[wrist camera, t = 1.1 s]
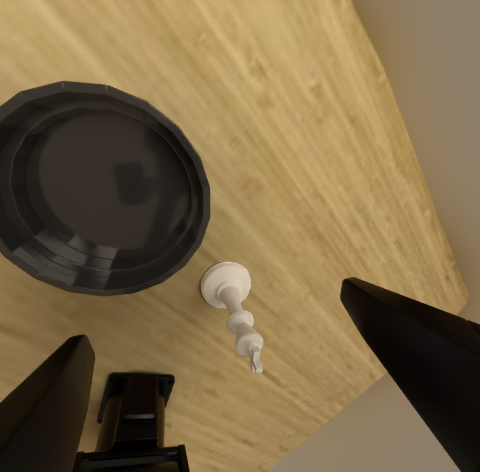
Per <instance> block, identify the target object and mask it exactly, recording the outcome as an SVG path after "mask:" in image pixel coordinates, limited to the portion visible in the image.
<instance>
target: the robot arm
mask: <svg viewBox="0 0 480 472" xmlns="http://www.w3.org/2000/svg"><path fill="white" fill-rule="evenodd" d="M340 299H341V302H342V304H343V305H344V307H345V309H346V310H347V312H348V314H349V316H350V317H351V319H352V321H353V322H354V324H355V326H356V327H357V329H358V331H359V332H360V334H361V335H362V337H363V338H364V340H365V341H366V343H367V344H368V346H369V347H370V348H371V350H372V351H373V352H374V354H375V355H376V356H377V358H378V359H379V361H380V362H381V363H382V365H383V366H384V367H385V369H386V370H387V371H388V373H389V374H390V376H391V377H392V378H393V380H394V381H395V382H396V384H397V385H398V386H399V388H400V389H401V390H402V392H403V393H404V395H405V396H406V397H407V399H408V400H409V401H410V403H411V404H412V406H413V407H414V408H415V410H416V411H417V412H418V414H419V415H420V417H421V418H422V419H423V420H424V422H425V423H426V425H427V426H428V427H429V429H430V430H431V431H432V433H433V434H434V436H435V437H436V438H437V440H438V441H439V442H440V444H441V445H442V446H443V448H444V449H445V450H446V452H447V453H448V455H449V456H450V457H451V459H452V460H453V461H454V463H455V464H456V466H457V467H458V468H459V470H460V471H461V472H480V324H477V323H474V322H472V321H469V320H467V321H466V320H465V319H464V318H461V317H458V316H456V315H453V314H450V313H448V312H445V311H443V310H440V309H437V308H435V307H432V306H429V305H427V304H424V303H421V302H419V301H416V300H413V299H411V298H408V297H405V296H403V295H400V294H398V293H395V292H392V291H390V290H387V289H384V288H382V287H379V286H376V285H374V284H371V283H368V282H366V281H363V280H361V279H358V278H355V277H351V278H347V279H344V280H343V282H342V287H341V294H340ZM94 363H95V353H94V350H93V348H92V346H91V344H90V341H89V339H88V337H87V336H86V335H78V336H73V337H70V338H69V339H68V340H67V341H65V342H64V343H63V344H62V345H61V346H60V347H59V348H58V349H57V350H56V351H55V352H54V353H53V354H52V355H51V356H50V357H48V358H47V359H46V360H45V361H44V362H43V363H42V364H41V365H40V366H39V367H38V368H37V369H36V370H35V371H34V372H32V373H31V374H30V375H29V376H28V377H27V378H26V379H25V380H24V381H23V382H22V383H21V384H20V385H19V386H18V387H16V388H15V389H14V390H13V391H12V392H11V393H10V394H9V395H8V396H7V397H6V398H5V399H4V400H3V401H2V402H1V403H0V472H190V471H189V466H188V460H187V455H186V449H185V445H184V444H183V445H178V446H173V447H164V420H165V407H166V405H167V402H168V399H169V396H170V393H171V391H172V388H173V385H174V382H175V378H174V376H172V375H145V374H116V373H115V374H111V375H109V377H108V380H107V384H106V388H105V392H104V396H103V400H102V403H101V407H100V411H99V415H98V419H97V423H99V424H101V427H100V431H99V436H98V440H97V444H96V448H95V452H88V453H84V451H82V452H77V450H78V446H79V442H80V438H81V434H82V430H83V426H84V422H85V418H86V414H87V409H88V404H89V397H90V390H91V383H92V376H93V370H94Z"/></svg>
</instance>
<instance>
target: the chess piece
mask: <svg viewBox="0 0 480 472" xmlns="http://www.w3.org/2000/svg"><path fill="white" fill-rule="evenodd" d="M200 288H201V293H202V295H203V297H204V299H205V300H206V302H207V303H208V304H210V305H211V306H213V307H216V308H227V309H228V311H229V313H230V315H231V316H230V317H229V319H228V321H227V327H228V329H229V330H230V331H231V332H232V333H234V334H236V340H235V350H236V352H237V353H238V354H239V355H240V356H243V357H250V359H251V361H250V368H251V371H252V372H255V373H261V372H262V371H263V366H262V363H261V361H260V350H261V348H262V346H263V338H262V337H261V335H260V334H259V333H258V332H257V331H255V330H254V329H253V328H252V326H253V323H254V318H253V315H252V314H251V313H250V312H249V311H246V310H243V308H242V304H241V302H242V301H243V300H244V299H245V298H246V297H247V295H248V293H249V291H250V288H251V279H250V276H249V273H248V271H247V270H246V268H245V267H244V266H242V265H241V264H239V263H236V262H229V261H228V262H221V263H218V264H216V265H214V266H212V267H211V268H210V269H209V270H208V271H207V272H206V273H205V274H204V276H203V278H202V280H201V286H200Z"/></svg>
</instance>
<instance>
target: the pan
mask: <svg viewBox="0 0 480 472" xmlns="http://www.w3.org/2000/svg"><path fill="white" fill-rule="evenodd" d="M209 219H210V186H209V183H208V180H207V177H206V173H205V170H204V167H203V164H202V161H201V158H200V156H199V154H198V153H197V152H196V150H195V149H194V147H193V146H192V144H191V143H190V142H189V140H188V139H187V137H186V136H185V134H184V133H183V132H182V130H181V129H180V127H179V126H178V125H176V124H175V123H174V122H173V121H171V120H170V119H169V118H168V117H166V116H165V115H164V114H163V113H161V112H160V111H159V110H158V109H156V108H155V107H154V106H153V105H151V104H150V103H149V102H147V101H145V100H143V99H140V98H138V97H135V96H133V95H131V94H128V93H126V92H123V91H121V90H118V89H116V88H114V87H111V86H109V85H103V84H92V83H81V82H70V81H60V82H56V83H52V84H48V85H44V86H40V87H36V88H32V89H28V90H24V91H21V92H19V93H17V94H16V95H15V96H13V97H12V98H11V99H9V100H8V101H7V102H5V103H4V104H3V105H1V106H0V252H1V253H2V255H3V256H5V258H7V259H8V260H10V261H11V262H12V263H14V264H15V265H17V266H18V267H19V268H21V269H22V270H24V271H25V272H26V273H28V274H29V275H31V276H32V277H33V278H36V279H37V280H40V281H42V282H45V283H47V284H50V285H52V286H55V287H58V288H60V289H63V290H65V291H68V292H73V293H81V294H88V295H96V296H112V295H121V294H130V293H136V292H139V291H141V290H144V289H146V288H149V287H152V286H154V285H157V284H160V283H162V282H164V281H165V280H166V279H168V278H169V277H170V276H172V275H173V274H175V273H176V272H177V271H179V270H180V269H181V268H183V267H184V266H185V265H186V264H187V262H188V261H189V260H190V258H191V257H192V256H193V254H194V253H195V252H196V250H197V249H198V248H199V246H200V245H201V243H202V240H203V237H204V234H205V231H206V228H207V225H208V222H209Z"/></svg>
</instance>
